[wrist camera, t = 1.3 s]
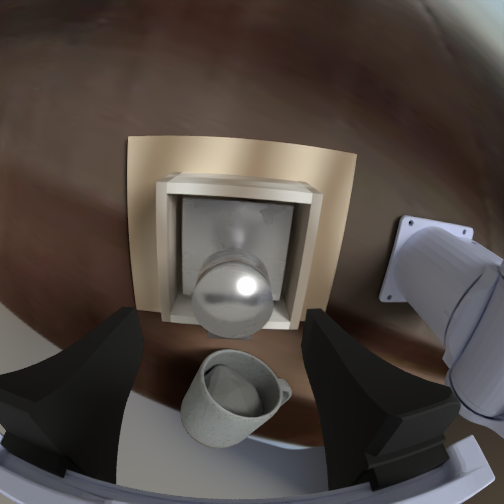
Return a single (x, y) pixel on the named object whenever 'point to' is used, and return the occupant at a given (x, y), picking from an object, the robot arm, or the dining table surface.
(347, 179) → the base
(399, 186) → the dining table surface
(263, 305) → the plunger
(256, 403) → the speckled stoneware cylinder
